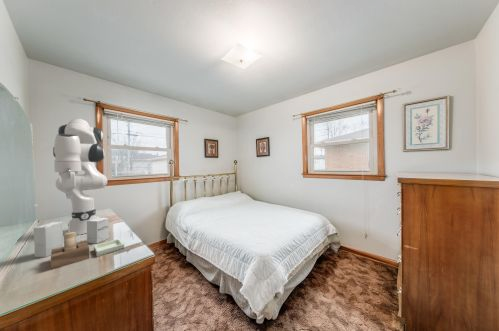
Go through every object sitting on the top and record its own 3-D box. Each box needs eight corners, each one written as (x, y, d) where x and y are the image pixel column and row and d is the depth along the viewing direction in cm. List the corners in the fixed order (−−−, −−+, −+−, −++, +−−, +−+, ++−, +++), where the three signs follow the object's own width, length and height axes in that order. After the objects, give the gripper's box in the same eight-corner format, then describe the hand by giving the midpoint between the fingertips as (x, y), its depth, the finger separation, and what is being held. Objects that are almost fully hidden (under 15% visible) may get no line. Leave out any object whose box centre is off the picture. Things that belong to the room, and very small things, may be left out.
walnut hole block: (51, 260, 82) (51, 249, 82) (86, 250, 91) (86, 240, 91) (51, 269, 74) (50, 257, 74) (89, 258, 83) (89, 247, 83)
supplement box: (96, 243, 99) (96, 221, 99) (86, 243, 101) (85, 220, 101) (109, 238, 107) (109, 217, 107) (99, 237, 108) (99, 217, 108)
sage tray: (94, 250, 91) (93, 245, 91) (119, 243, 99) (119, 238, 99) (97, 257, 84) (96, 251, 84) (124, 248, 92) (124, 244, 92)
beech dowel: (64, 259, 83) (63, 233, 83) (76, 256, 85) (75, 231, 86) (64, 262, 80) (63, 236, 80) (76, 258, 83) (76, 233, 83)
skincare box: (53, 249, 93) (52, 221, 93) (64, 249, 93) (63, 221, 93) (33, 258, 85) (32, 227, 85) (45, 257, 85) (45, 226, 85)
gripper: (79, 167, 78) (80, 198, 78) (76, 168, 92) (77, 194, 92) (58, 167, 74) (59, 201, 73) (58, 168, 87) (59, 196, 87)
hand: (69, 197), depth 83 cm, fingers open, 8 cm apart
